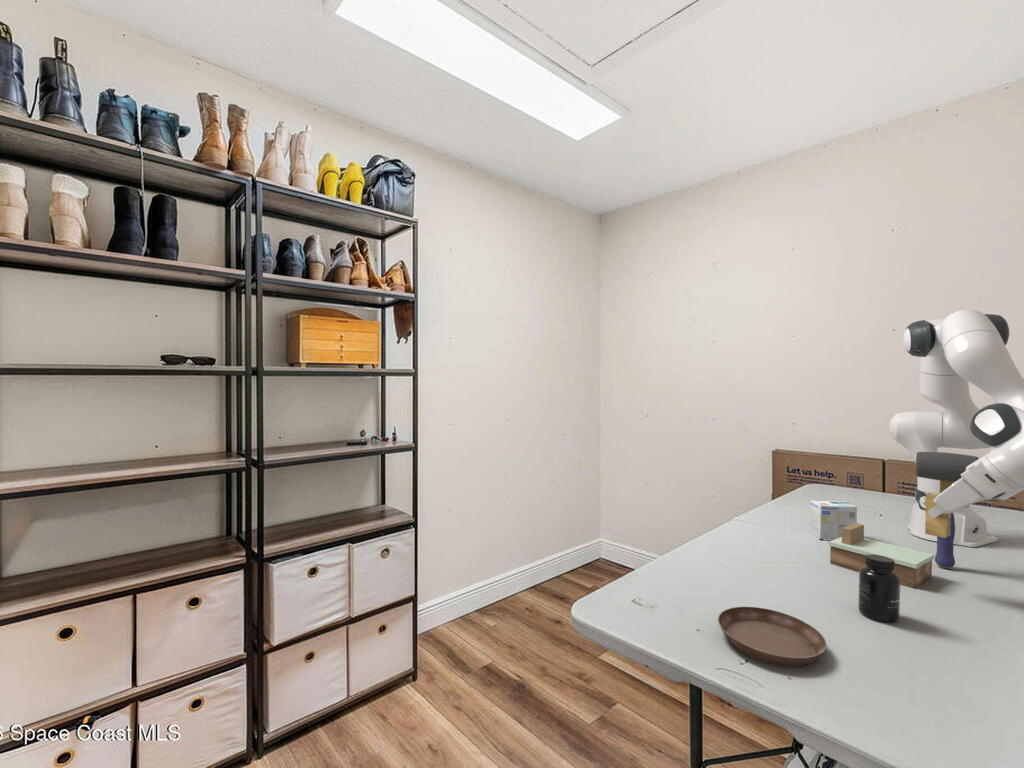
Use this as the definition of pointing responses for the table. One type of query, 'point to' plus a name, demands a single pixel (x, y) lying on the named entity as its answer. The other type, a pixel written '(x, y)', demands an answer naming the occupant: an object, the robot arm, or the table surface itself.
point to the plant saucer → (772, 635)
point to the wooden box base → (906, 574)
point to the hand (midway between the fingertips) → (934, 513)
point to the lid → (878, 547)
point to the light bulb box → (831, 518)
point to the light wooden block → (936, 520)
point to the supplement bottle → (879, 589)
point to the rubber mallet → (947, 472)
